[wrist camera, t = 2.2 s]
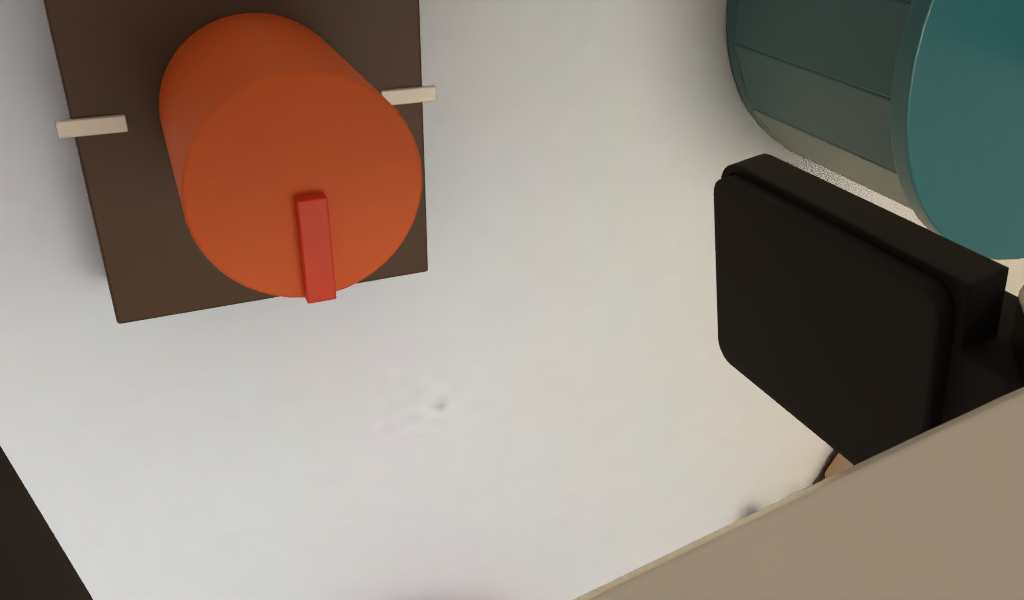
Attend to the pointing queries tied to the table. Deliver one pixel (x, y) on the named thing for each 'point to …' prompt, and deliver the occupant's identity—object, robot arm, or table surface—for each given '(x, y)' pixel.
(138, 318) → the brown dial base
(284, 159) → the knob
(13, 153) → the table surface
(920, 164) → the lid
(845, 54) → the pot
